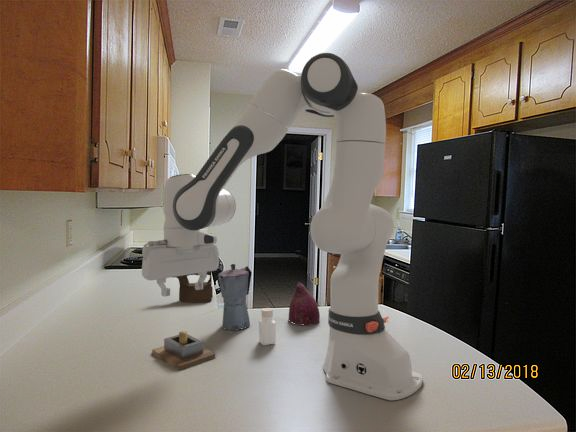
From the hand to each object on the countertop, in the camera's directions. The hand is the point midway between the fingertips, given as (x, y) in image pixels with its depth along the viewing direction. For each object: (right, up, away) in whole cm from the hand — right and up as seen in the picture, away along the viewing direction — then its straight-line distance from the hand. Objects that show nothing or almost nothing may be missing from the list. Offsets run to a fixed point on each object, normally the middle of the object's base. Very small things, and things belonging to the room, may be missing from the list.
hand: (183, 292), depth 97 cm
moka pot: (+10, -16, +24) cm, 31 cm away
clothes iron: (-11, -14, +56) cm, 58 cm away
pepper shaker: (+21, -16, +9) cm, 28 cm away
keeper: (0, -16, +1) cm, 16 cm away
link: (0, -15, +1) cm, 15 cm away
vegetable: (+32, -16, +29) cm, 46 cm away
